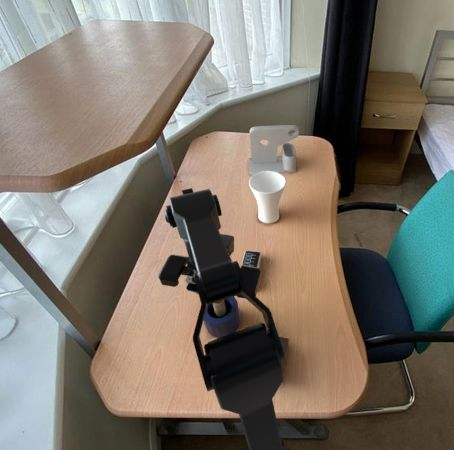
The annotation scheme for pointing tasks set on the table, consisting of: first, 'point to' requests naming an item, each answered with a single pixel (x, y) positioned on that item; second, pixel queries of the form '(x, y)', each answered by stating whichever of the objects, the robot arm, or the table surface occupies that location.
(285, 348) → the brush stand
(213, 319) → the blue hollow cylinder
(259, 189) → the cup
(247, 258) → the multiport hub
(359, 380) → the table surface
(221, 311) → the brush
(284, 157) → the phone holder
